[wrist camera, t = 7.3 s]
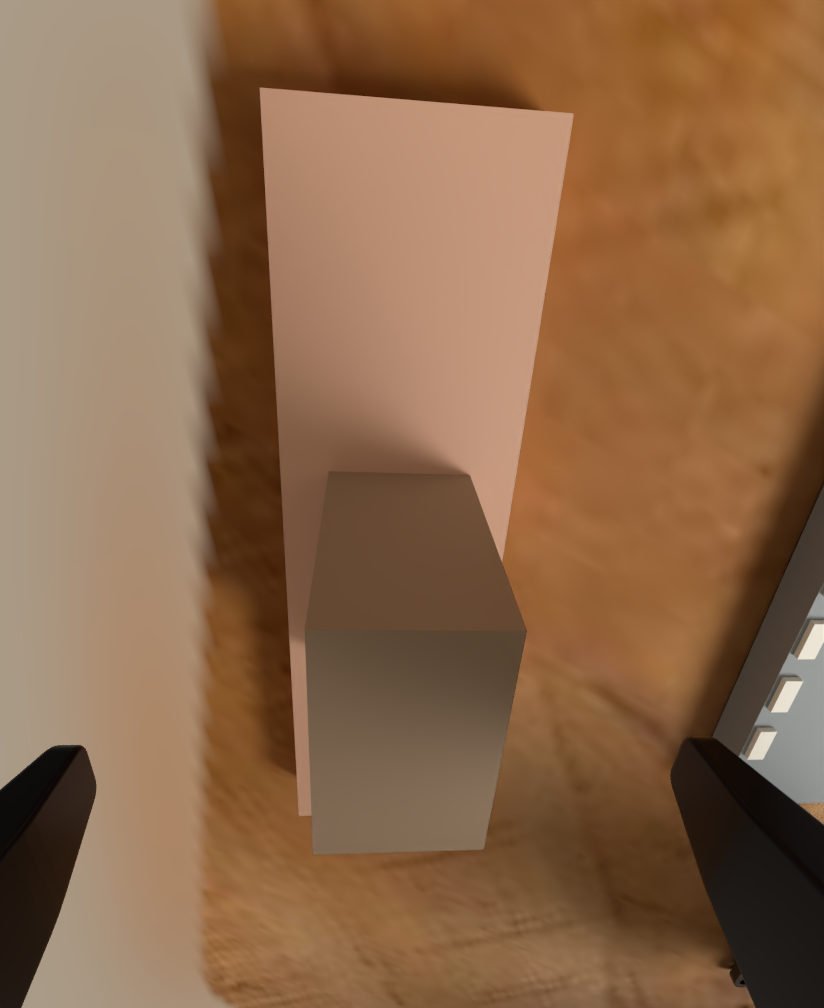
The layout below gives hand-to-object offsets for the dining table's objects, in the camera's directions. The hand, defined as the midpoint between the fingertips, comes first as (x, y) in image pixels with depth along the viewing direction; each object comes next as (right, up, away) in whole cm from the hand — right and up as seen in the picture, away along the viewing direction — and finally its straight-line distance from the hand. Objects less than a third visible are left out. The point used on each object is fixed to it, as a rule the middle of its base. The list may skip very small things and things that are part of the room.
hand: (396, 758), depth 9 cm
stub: (0, +3, +6) cm, 6 cm away
